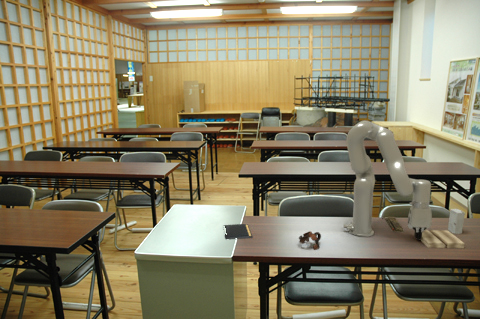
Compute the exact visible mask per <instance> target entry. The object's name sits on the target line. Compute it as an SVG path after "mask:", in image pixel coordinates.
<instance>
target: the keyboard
mask: <svg viewBox="0 0 480 319" xmlns="http://www.w3.org/2000/svg"><path fill="white" fill-rule="evenodd" d="M381 219H382V220H385V221H386V224H387V225H388V227H389V228H390V230H391V231H392V232H393V233H405V230H404V228H403V226H402V225H401V224H400V222H399V221H398V220H397V218H396V217H395V216H386V217H384V218H383V217H382V218H381Z"/></svg>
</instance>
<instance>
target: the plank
mask: <svg viewBox="0 0 480 319" xmlns="http://www.w3.org/2000/svg"><path fill="white" fill-rule="evenodd" d="M420 241H421V243H423V244H424V245H425V246H426V247H427V248H429V249H431V248H434V249H436V248H438V249H442V248H443V249H445V248H446V245H445V244H444V243H442V242H441V241H440V240H439V239H438V238H437V237H435V236H434V235H433V234H432V233H431V232H430V230H428V229H425V230H424V231H423V233H422V238H421V240H420Z"/></svg>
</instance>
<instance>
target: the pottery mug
mask: <svg viewBox="0 0 480 319" xmlns="http://www.w3.org/2000/svg"><path fill="white" fill-rule="evenodd" d="M321 238H322V235H321V232H319V231H316V232H314V233H313V232H312V231H308V232H307V231H306V232H304V233H303V235H300V236H299V237H298V239H299V242H298V243H300V244H301V243H302V244H304V243H305V242H310V239H311V241H314V243H315V244H313V249H314V250H315V251H316V250H318V249H319V248H320V240H321Z"/></svg>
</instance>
